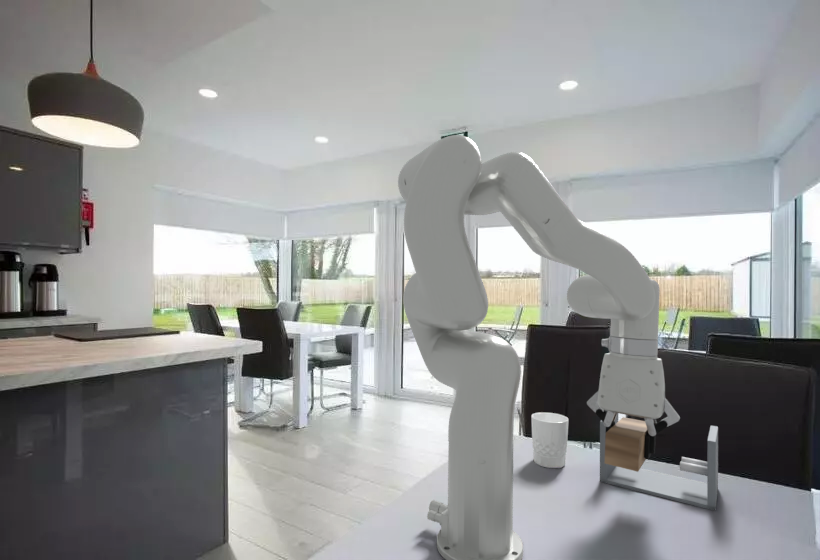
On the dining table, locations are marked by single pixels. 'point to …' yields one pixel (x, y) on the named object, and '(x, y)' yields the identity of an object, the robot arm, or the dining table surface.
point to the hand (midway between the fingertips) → (629, 451)
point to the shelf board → (626, 444)
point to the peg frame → (669, 476)
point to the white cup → (549, 439)
